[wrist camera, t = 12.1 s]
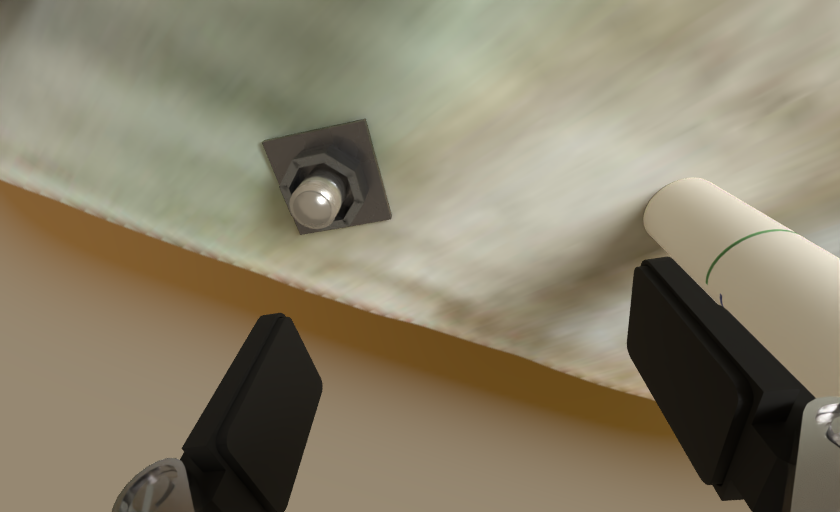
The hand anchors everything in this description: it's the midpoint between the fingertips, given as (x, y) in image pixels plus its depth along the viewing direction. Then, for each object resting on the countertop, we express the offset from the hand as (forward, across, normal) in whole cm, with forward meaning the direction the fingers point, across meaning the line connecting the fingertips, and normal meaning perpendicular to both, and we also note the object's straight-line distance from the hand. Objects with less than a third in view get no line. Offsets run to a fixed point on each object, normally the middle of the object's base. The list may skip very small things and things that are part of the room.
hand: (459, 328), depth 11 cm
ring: (+28, +12, +4) cm, 30 cm away
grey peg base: (+28, +12, +4) cm, 31 cm away
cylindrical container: (+28, -22, +14) cm, 39 cm away
